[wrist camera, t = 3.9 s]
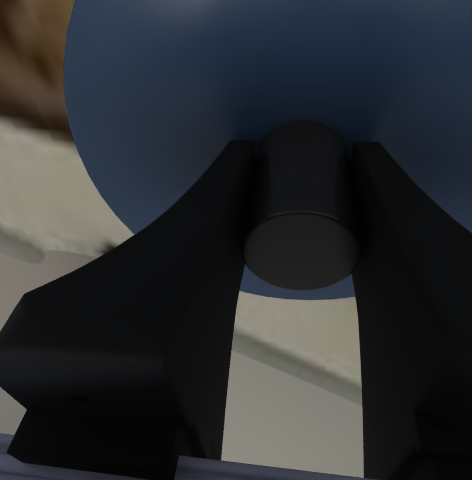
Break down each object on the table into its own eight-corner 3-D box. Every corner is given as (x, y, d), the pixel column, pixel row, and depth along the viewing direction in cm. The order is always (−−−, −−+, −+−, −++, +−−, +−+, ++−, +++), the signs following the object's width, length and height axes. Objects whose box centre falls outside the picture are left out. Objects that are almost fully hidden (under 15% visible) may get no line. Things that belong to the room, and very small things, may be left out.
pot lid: (683, 109, 10) (871, 244, 6) (311, 316, 18) (312, 418, 15) (265, -495, 5) (195, -1082, 2) (29, 162, 14) (-57, 263, 10)
